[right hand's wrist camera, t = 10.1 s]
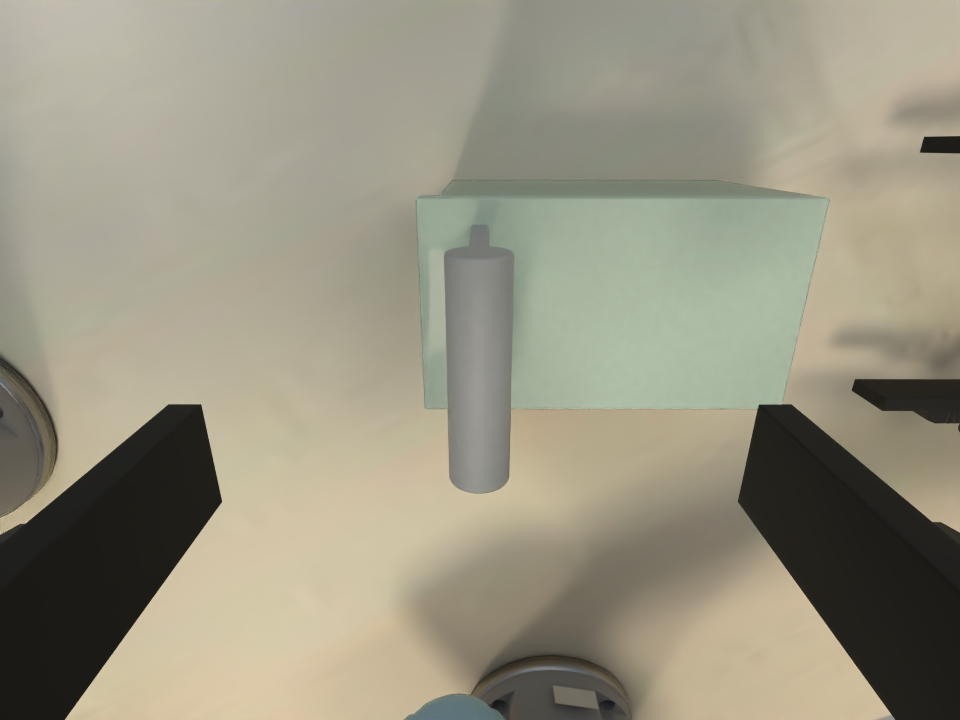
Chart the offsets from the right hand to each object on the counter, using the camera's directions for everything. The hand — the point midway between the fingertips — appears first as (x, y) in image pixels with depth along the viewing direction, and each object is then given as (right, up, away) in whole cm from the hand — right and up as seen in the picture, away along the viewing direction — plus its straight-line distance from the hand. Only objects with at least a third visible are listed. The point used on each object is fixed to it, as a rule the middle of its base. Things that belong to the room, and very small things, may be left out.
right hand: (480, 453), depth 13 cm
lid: (+6, +5, +12) cm, 14 cm away
